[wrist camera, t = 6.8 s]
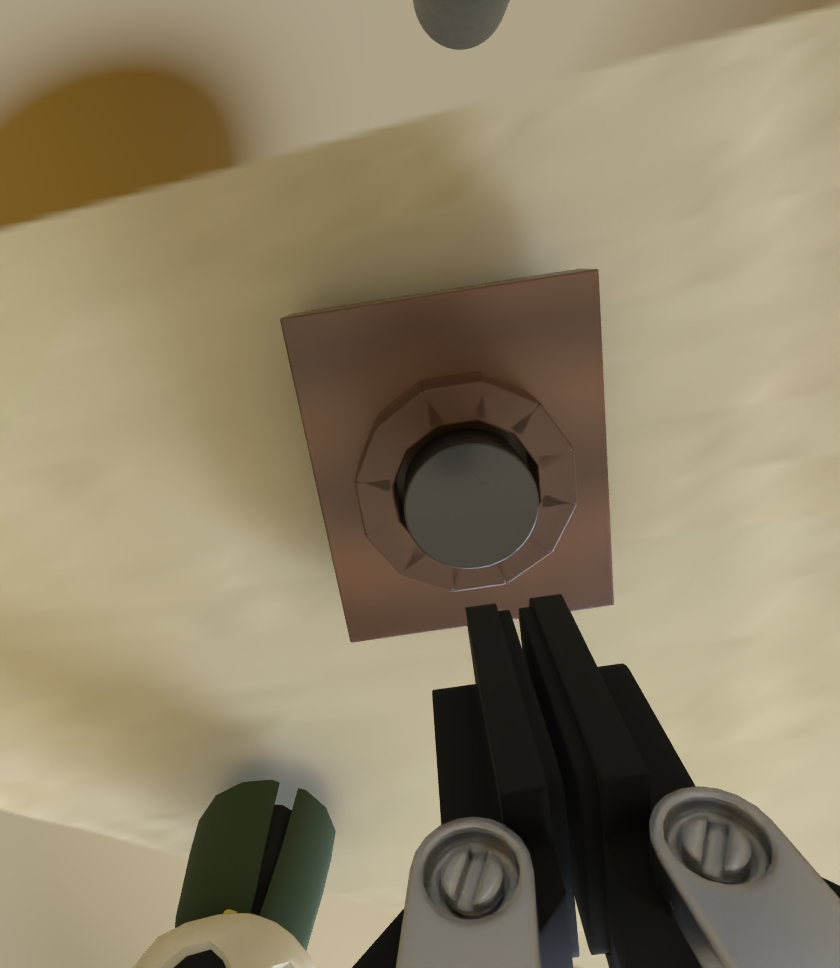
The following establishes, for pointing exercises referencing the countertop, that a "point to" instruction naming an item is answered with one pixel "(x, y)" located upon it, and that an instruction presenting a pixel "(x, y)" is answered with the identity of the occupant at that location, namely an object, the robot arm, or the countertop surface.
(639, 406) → the countertop surface
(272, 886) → the character mug
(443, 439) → the button
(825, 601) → the countertop surface
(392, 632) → the button box
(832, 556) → the countertop surface
